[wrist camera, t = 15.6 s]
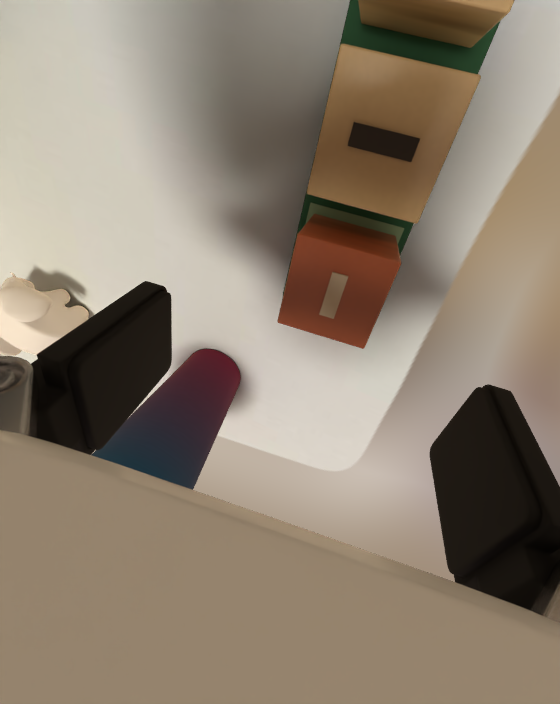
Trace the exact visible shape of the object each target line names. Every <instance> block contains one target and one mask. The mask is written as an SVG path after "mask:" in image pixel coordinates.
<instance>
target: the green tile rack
mask: <svg viewBox="0 0 560 704" xmlns="http://www.w3.org/2000/svg"><path fill="white" fill-rule="evenodd" d="M513 3H514V0H350V4H349V8H348V13H347V17H346V21H345V26H344V30H343V34H342V39H341V43H340V47H339V52H338V56H337V61H336V65H335V69H334V74H333V78H332V82H331V87H330V91H329V96H328V100H327V104H326V109H325V113H324V117H323V122H322V126H321V130H320V135H319V139H318V144H317V148H316V152H315V157H314V161H313V165H312V170H311V174H310V178H309V183H308V187H307V192H306V196H305V200H304V205H303V209H302V213H301V218H300V222H299V226H298V231H297V235H298V233H299V232H300V231H301V229H302V228H303V227H304V226H305V224H306V223H307V222H308V221H309V219H310V218H311V217H312V216H313V214H318V215H322V216H325V217H329V218H333V219H336V220H340V221H344V222H347V223H351V224H354V225H358V226H362V227H365V228H369V229H373V230H376V231H380V232H383V233H387V234H391V235H394V236H396V240H397V245H398V249H399V254H401V252H402V250H403V247H404V245H405V243H406V240H407V238H408V236H409V233H410V231H411V229H412V226H413V224H414V223H418V221H419V219H420V217H421V214H422V212H423V210H424V207H425V205H426V203H427V200H428V198H429V196H430V194H431V191H432V189H433V187H434V184H435V182H436V180H437V177H438V175H439V173H440V171H441V168H442V166H443V164H444V161H445V159H446V157H447V154H448V152H449V150H450V148H451V145H452V143H453V141H454V138H455V136H456V134H457V131H458V129H459V127H460V125H461V122H462V120H463V118H464V115H465V113H466V111H467V108H468V106H469V104H470V102H471V99H472V97H473V95H474V92H475V90H476V88H477V85H478V83H479V81H480V79H481V76H480V75H478V72H479V70H480V67H481V65H482V63H483V60H484V58H485V56H486V53H487V51H488V49H489V46H490V44H491V42H492V39H493V37H494V35H495V32H496V30H497V28H498V25H499V23H500V21H501V19H503V18H504V17H505V16H506V15H507V14H508V13H509V12H510V10H511V7H512V5H513ZM297 235H296V239H297ZM295 243H296V240H295ZM294 247H295V244H294ZM293 252H294V248H293ZM292 256H293V253H292ZM291 260H292V257H291ZM290 265H291V261H290ZM289 269H290V266H289ZM288 273H289V270H288ZM287 278H288V275H287ZM286 282H287V279H286ZM285 286H286V283H285ZM284 291H285V288H284ZM283 295H284V292H283Z"/></svg>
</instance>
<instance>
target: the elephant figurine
mask: <svg viewBox="0 0 560 704" xmlns="http://www.w3.org/2000/svg"><path fill="white" fill-rule="evenodd" d="M10 273H11V272H10ZM11 274H12V275H13V277H11V278H7V279H6V280H5V281H4V283H3V284H2V286H1V289H0V354H3V355H17V354H19V353H20V352H21V351H25V352H28V353H31V354H36V355H37V354H38V353H39V352H41V351H42V350H44V349H45V348H47V347H48V346H50V345H51V344H53V343H54V342H56V341H57V340H59V339H60V338H62V337H63V336H64V335H66V334H67V333H69V332H70V331H72V330H73V329H75V328H76V327H78V326H79V325H81V324H82V323H84V322H85V321H87V320H88V318H89V312H88V311H87V309H85V308H84V307H82V306H73V307H70V308H67V307H65V304H67V303H68V302H69V301H70V295H69V294H68V292H67V291H66V290H64V289H56V290H53V291H44V292H40V291H38V290H36V289H35V286H34V284H33V283H32V282H31V281H28V280H25V279H22V278H16V276H15V275H14V274H13V273H11Z"/></svg>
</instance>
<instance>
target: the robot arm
mask: <svg viewBox="0 0 560 704" xmlns="http://www.w3.org/2000/svg"><path fill="white" fill-rule="evenodd" d="M37 357H38V359H37V360H36V361H34V362H33V363H31V364H30V363H29V362H28V361H27V360H24V359H22V358H19V357H12V356H0V704H560V487H559V485H558V483H557V481H556V479H555V477H554V475H553V473H552V471H551V469H550V467H549V465H548V463H547V461H546V459H545V457H544V455H543V453H542V451H541V449H540V447H539V445H538V443H537V441H536V439H535V437H534V435H533V433H532V432H531V429H530V427H529V426H528V423H527V422H526V419H525V418H524V416H523V414H522V412H521V410H520V408H519V406H518V404H517V402H516V400H515V398H514V396H513V394H512V393H511V391H508V390H505V389H502V388H498V387H495V386H492V385H485V386H483V387H482V388H481V387H478V388H476V389H475V390H474V391H473V392H472V394H471V395H470V396H469V398H468V399H467V400H466V402H465V403H464V404H463V405H462V407H461V408H460V409H459V410H458V412H457V413H456V414H455V416H454V417H453V418H452V419H451V421H450V422H449V423H448V425H447V426H446V427H445V428H444V430H443V431H442V432H441V434H440V435H439V436H438V438H437V439H436V440H435V441H434V443H433V444H432V446H431V449H430V460H431V467H432V473H433V479H434V485H435V492H436V498H437V504H438V510H439V516H440V522H441V529H442V535H443V540H444V547H445V553H446V560H447V565H448V569H449V571H450V572H451V573H452V574H454V578H455V582H453V581H450V580H448V579H444V578H442V577H439V576H436V575H433V574H431V573H428V572H425V571H422V570H419V569H417V568H414V567H411V566H408V565H405V564H403V563H399V562H397V561H394V560H391V559H388V558H385V557H383V556H380V555H377V554H374V553H372V552H369V551H366V550H363V549H360V548H358V547H354V546H352V545H349V544H346V543H343V542H341V541H338V540H335V539H332V538H329V537H326V536H323V535H320V534H318V533H315V532H312V531H309V530H306V529H303V528H300V527H298V526H295V525H292V524H289V523H286V522H284V521H281V520H278V519H275V518H272V517H269V516H266V515H264V514H261V513H258V512H255V511H252V510H249V509H246V508H243V507H241V506H238V505H235V504H232V503H229V502H226V501H224V500H220V499H218V498H215V497H212V496H209V495H206V494H203V493H200V492H197V491H195V490H192V489H189V488H186V487H183V486H180V485H177V484H174V483H171V482H168V481H166V480H163V479H160V478H157V477H154V476H151V475H148V474H145V473H142V472H139V471H137V470H134V469H131V468H128V467H125V466H122V465H119V464H116V463H113V462H110V461H107V460H104V459H101V458H98V457H95V456H92V455H91V454H92V453H93V452H94V450H95V449H96V450H100V449H102V448H103V447H104V446H105V445H106V443H107V442H108V441H109V440H110V439H111V438H112V436H113V435H114V434H115V433H116V432H117V430H118V429H119V428H120V427H121V426H122V425H123V423H124V422H125V421H126V420H127V419H128V417H129V416H130V415H131V414H132V413H133V411H134V410H135V409H136V408H137V407H138V406H139V404H140V403H141V402H142V401H143V400H144V399H145V397H146V396H147V395H148V394H149V393H150V391H151V390H152V389H153V388H154V387H155V386H156V384H157V383H158V382H159V381H160V380H161V378H162V377H163V376H164V375H165V374H166V373H167V371H168V370H169V368H170V365H171V361H172V342H171V295H170V293H168V292H167V290H166V288H165V287H164V286H161V285H158V284H154V283H151V282H147V281H145V282H143V283H141V284H140V285H138V286H137V287H135V288H134V289H132V290H131V291H129V292H128V293H127V294H125V295H124V296H122V297H121V298H119V299H118V300H116V301H115V302H113V303H112V304H110V305H109V306H107V307H106V308H104V309H103V310H101V311H100V312H98V313H97V314H95V315H94V316H93V317H91V318H90V319H88V320H87V321H85V322H84V323H82V324H81V325H79V326H78V327H76V328H75V329H73V330H72V331H70V332H69V333H67V334H66V335H64V336H63V337H62V338H60V339H59V340H57V341H56V342H54V343H53V344H51V345H50V346H48V347H47V348H45V349H44V350H42V351H41V352H39V353H38V354H37Z"/></svg>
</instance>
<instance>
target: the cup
mask: <svg viewBox="0 0 560 704" xmlns="http://www.w3.org/2000/svg"><path fill="white" fill-rule="evenodd" d="M240 378H241V377H240V372H239V369H238V367H237V366H236V364H235V363H234V362H233V361H232V359H230V358H229V357H228V356H227V355H225V354H223V353H222V352H219V351H217V350H212V349H202V350H199V351H196V352H195V353H193V354H192V355H191V356H190V357H189V358H188V359H187V360H186V361H185V362H184V363H183V364H182V365H181V366H180V367H179V368H178V369H177V370H176V371H175V372H174V373H173V374H172V375H171V376H170V377H169V378H168V379H167V380H166V381H165V382H164V383H163V384H162V385H161V386H160V387H159V388H158V389H157V390H156V391H155V392H154V393H153V394H152V395H151V396H150V397H149V398H148V399H147V400H146V401H145V402H144V403H143V404H142V405H141V406H140V407H139V408H138V409H137V410H136V411H135V412H134V413H133V414H132V415H131V416H130V417H129V418H128V419H127V420H126V421H125V422H124V423H123V425H122V426H121V427H120V428H119V429H118V430H117V432H116V433H115V434H114V435H113V436H112V438H111V439H110V440H109V441H108V442H107V443H106V445H105V446H104V447H103V448H102V449H100V450H96V451H95V452H94V453H93V454H92V456H95V457H98V458H101V459H104V460H107V461H110V462H113V463H116V464H119V465H122V466H125V467H128V468H131V469H134V470H137V471H139V472H142V473H145V474H148V475H151V476H154V477H157V478H160V479H163V480H166V481H168V482H171V483H174V484H177V485H180V486H183V487H186V488H189V489H192V490H193V488H194V486H195V484H196V482H197V479H198V477H199V475H200V472H201V470H202V468H203V466H204V463H205V461H206V459H207V456H208V454H209V452H210V450H211V448H212V445H213V443H214V441H215V438H216V436H217V434H218V432H219V430H220V427H221V425H222V423H223V420H224V418H225V416H226V414H227V411H228V409H229V407H230V405H231V402H232V400H233V398H234V396H235V393H236V391H237V389H238V387H239V384H240Z"/></svg>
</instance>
